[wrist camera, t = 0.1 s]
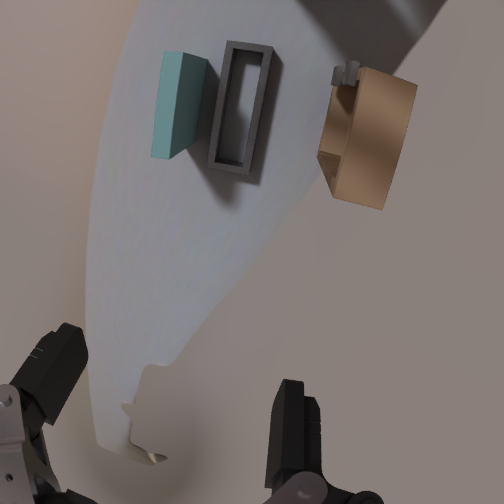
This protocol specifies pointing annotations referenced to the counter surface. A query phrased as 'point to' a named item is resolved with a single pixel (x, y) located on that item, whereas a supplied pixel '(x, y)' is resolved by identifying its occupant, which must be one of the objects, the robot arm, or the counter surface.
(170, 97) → the door panel
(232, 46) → the grey rectangular frame
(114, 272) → the counter surface
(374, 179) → the cabinet
